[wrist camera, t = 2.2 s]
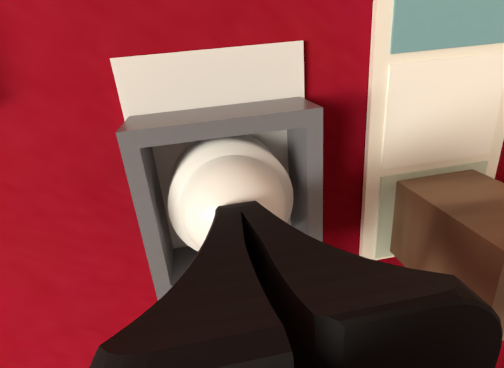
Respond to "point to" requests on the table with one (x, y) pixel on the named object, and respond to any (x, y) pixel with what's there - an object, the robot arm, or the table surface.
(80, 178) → the table surface
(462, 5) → the game board
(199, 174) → the dome
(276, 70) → the dome base
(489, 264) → the brown wooden block
